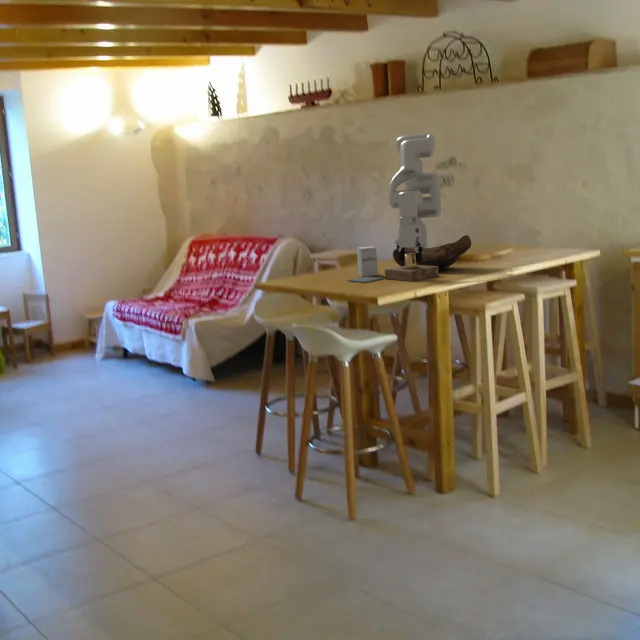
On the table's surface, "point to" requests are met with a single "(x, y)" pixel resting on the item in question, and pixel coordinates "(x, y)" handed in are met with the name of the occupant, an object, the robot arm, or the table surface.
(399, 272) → the bore block
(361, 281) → the slate mat
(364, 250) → the supplement box
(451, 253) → the driftwood
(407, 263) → the tan mottled cylinder
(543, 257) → the table surface
